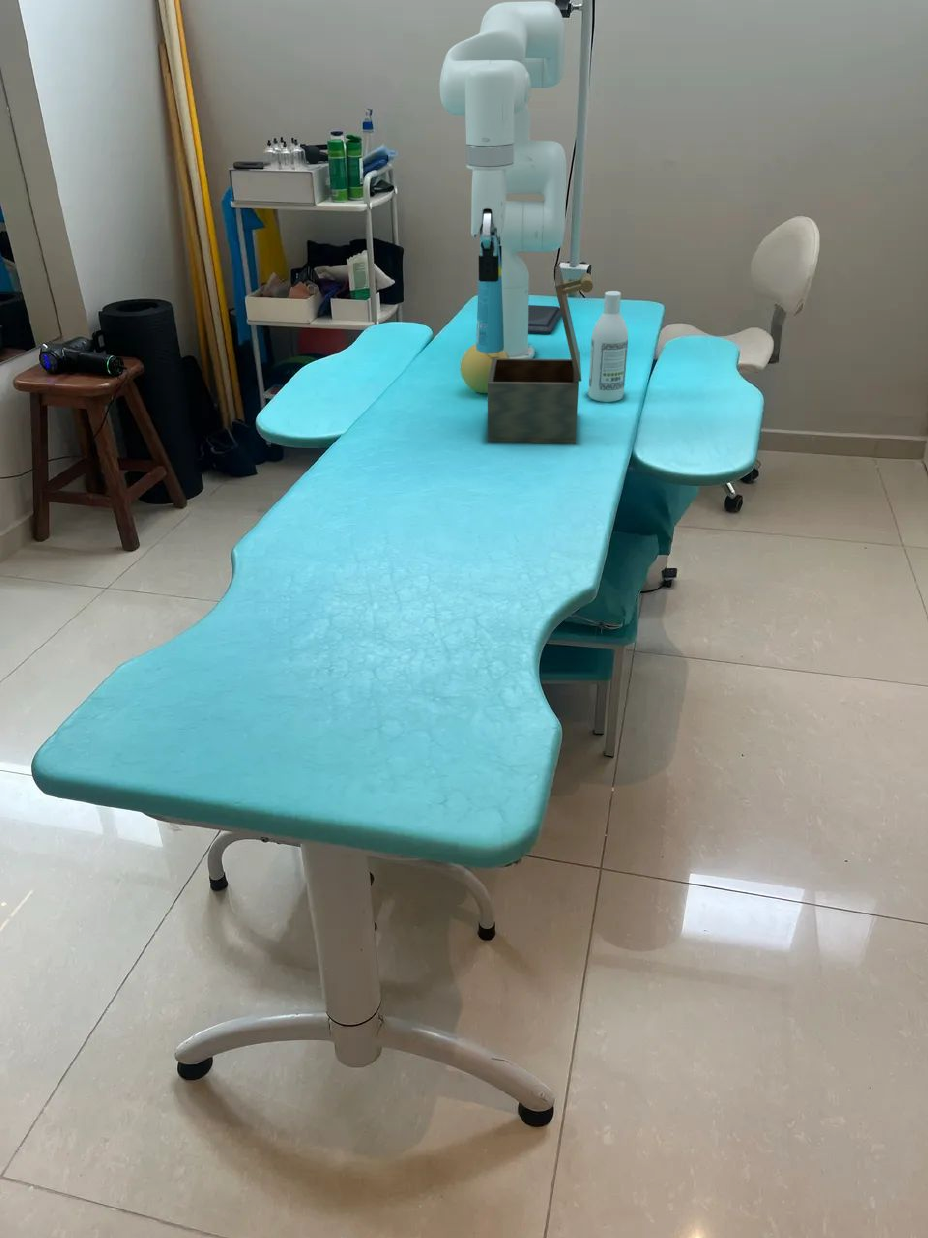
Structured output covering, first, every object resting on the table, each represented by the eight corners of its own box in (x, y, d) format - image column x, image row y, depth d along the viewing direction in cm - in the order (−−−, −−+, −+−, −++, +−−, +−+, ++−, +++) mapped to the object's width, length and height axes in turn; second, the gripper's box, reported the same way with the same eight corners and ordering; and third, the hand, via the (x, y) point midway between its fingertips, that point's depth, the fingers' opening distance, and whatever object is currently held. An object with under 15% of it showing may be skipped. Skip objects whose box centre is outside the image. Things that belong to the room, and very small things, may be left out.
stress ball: (483, 404, 179) (483, 353, 174) (451, 391, 185) (449, 342, 180) (520, 391, 185) (521, 342, 179) (487, 379, 191) (487, 331, 185)
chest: (487, 442, 163) (487, 383, 157) (492, 414, 175) (492, 358, 169) (575, 443, 162) (578, 384, 156) (574, 415, 173) (577, 358, 167)
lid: (554, 286, 148) (590, 276, 146) (555, 266, 159) (588, 257, 157) (576, 382, 156) (610, 373, 155) (575, 356, 167) (607, 348, 166)
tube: (511, 353, 158) (513, 235, 148) (486, 357, 157) (486, 238, 146) (492, 341, 164) (492, 227, 153) (468, 345, 162) (466, 230, 152)
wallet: (549, 326, 215) (487, 322, 219) (549, 334, 216) (487, 330, 220) (566, 304, 231) (507, 300, 235) (565, 311, 232) (507, 308, 236)
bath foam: (630, 396, 181) (639, 292, 170) (606, 405, 177) (614, 299, 166) (605, 387, 185) (612, 285, 174) (580, 396, 182) (586, 292, 171)
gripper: (471, 149, 151) (473, 263, 161) (460, 165, 137) (462, 289, 147) (517, 148, 150) (515, 263, 160) (510, 164, 136) (509, 289, 146)
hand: (490, 274), depth 153 cm, fingers closed on tube, 6 cm apart
